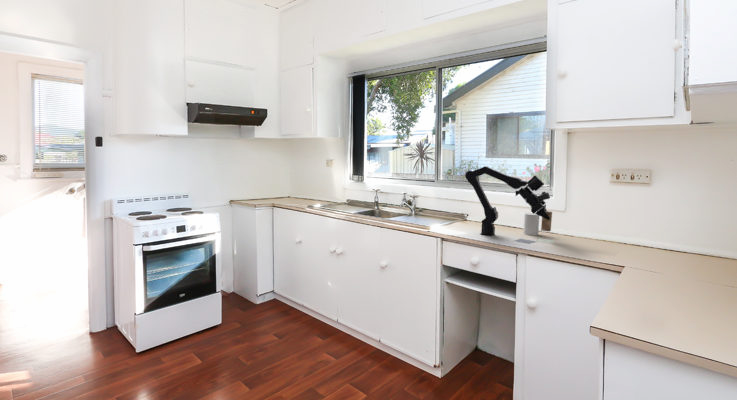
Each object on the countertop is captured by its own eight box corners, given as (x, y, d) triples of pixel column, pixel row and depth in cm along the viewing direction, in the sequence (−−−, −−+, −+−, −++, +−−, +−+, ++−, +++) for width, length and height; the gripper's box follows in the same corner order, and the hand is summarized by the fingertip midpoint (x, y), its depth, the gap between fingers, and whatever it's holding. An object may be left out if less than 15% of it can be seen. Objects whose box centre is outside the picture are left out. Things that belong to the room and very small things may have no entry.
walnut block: (541, 230, 217) (542, 212, 216) (541, 229, 221) (543, 211, 220) (550, 231, 215) (551, 212, 214) (550, 230, 219) (552, 211, 218)
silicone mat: (512, 240, 217) (512, 240, 217) (520, 238, 223) (520, 238, 223) (529, 243, 211) (529, 243, 211) (536, 241, 217) (536, 241, 217)
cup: (535, 233, 241) (537, 213, 240) (540, 235, 233) (541, 215, 232) (521, 232, 242) (522, 212, 240) (525, 235, 234) (526, 214, 232)
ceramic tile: (536, 241, 217) (536, 241, 217) (538, 238, 224) (538, 238, 224) (552, 243, 214) (552, 243, 214) (553, 240, 221) (553, 240, 221)
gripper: (539, 188, 209) (561, 211, 205) (542, 185, 226) (563, 207, 222) (522, 202, 214) (543, 224, 210) (526, 198, 230) (546, 219, 226)
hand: (549, 218), depth 217 cm, fingers closed on walnut block, 4 cm apart
